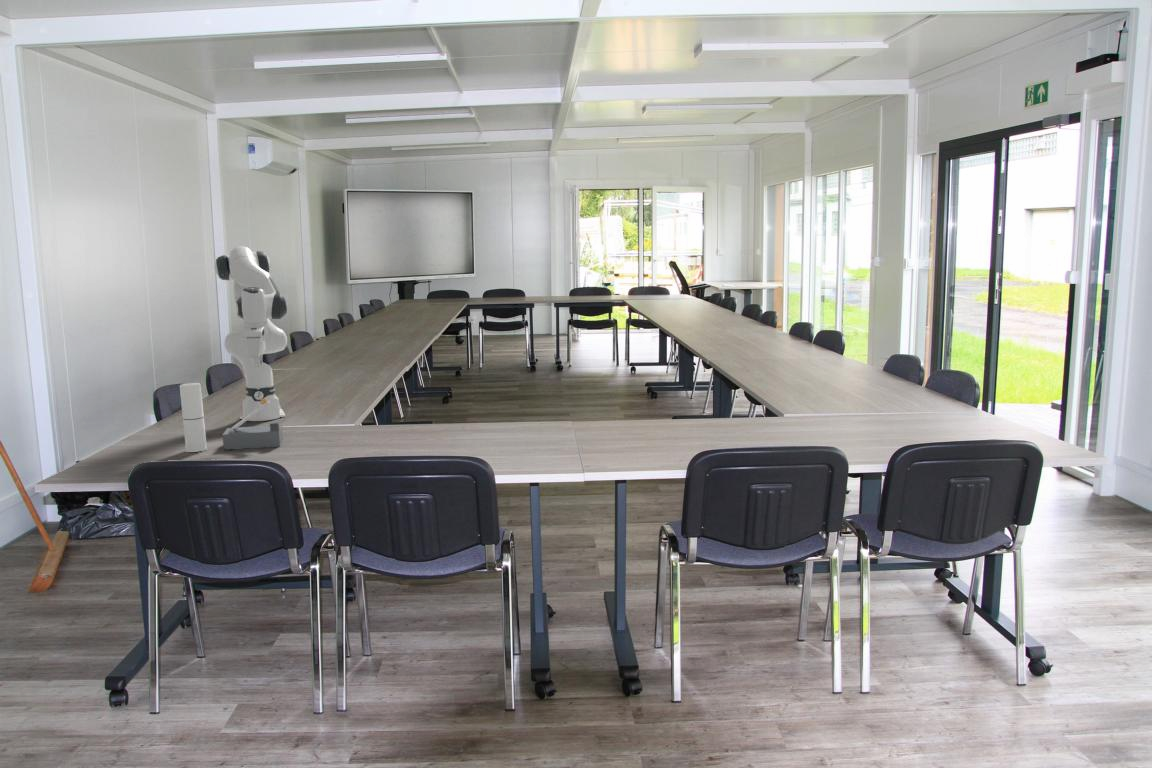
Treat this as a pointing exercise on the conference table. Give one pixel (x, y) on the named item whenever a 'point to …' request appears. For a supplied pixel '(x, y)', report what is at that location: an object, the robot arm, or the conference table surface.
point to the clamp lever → (264, 404)
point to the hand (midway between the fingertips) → (258, 365)
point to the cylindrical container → (193, 417)
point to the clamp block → (253, 437)
